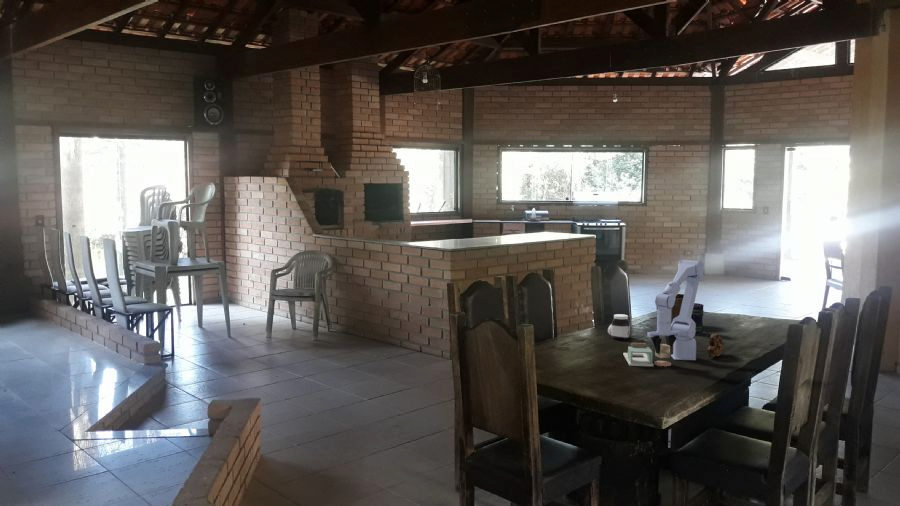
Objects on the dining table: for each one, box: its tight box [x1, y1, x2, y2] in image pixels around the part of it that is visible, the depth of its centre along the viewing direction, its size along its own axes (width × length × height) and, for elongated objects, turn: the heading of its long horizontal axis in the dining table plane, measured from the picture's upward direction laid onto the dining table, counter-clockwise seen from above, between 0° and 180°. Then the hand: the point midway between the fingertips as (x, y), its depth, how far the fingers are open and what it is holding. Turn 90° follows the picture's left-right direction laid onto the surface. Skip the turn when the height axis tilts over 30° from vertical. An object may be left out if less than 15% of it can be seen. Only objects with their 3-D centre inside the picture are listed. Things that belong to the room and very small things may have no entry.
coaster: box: [653, 360, 672, 367], centre depth 315 cm, size 7×7×1 cm
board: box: [623, 352, 654, 367], centre depth 322 cm, size 10×20×1 cm, turn 174°
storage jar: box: [687, 302, 705, 336], centre depth 378 cm, size 10×10×15 cm
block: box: [654, 343, 671, 359], centre depth 315 cm, size 4×4×5 cm
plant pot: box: [671, 293, 684, 324], centre depth 398 cm, size 16×16×16 cm
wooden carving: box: [707, 333, 725, 358], centre depth 329 cm, size 16×5×10 cm, turn 148°
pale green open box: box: [627, 342, 653, 364], centre depth 316 cm, size 9×9×7 cm
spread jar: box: [607, 313, 631, 341], centre depth 367 cm, size 12×11×12 cm
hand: (663, 352), depth 314 cm, fingers closed on block, 4 cm apart
